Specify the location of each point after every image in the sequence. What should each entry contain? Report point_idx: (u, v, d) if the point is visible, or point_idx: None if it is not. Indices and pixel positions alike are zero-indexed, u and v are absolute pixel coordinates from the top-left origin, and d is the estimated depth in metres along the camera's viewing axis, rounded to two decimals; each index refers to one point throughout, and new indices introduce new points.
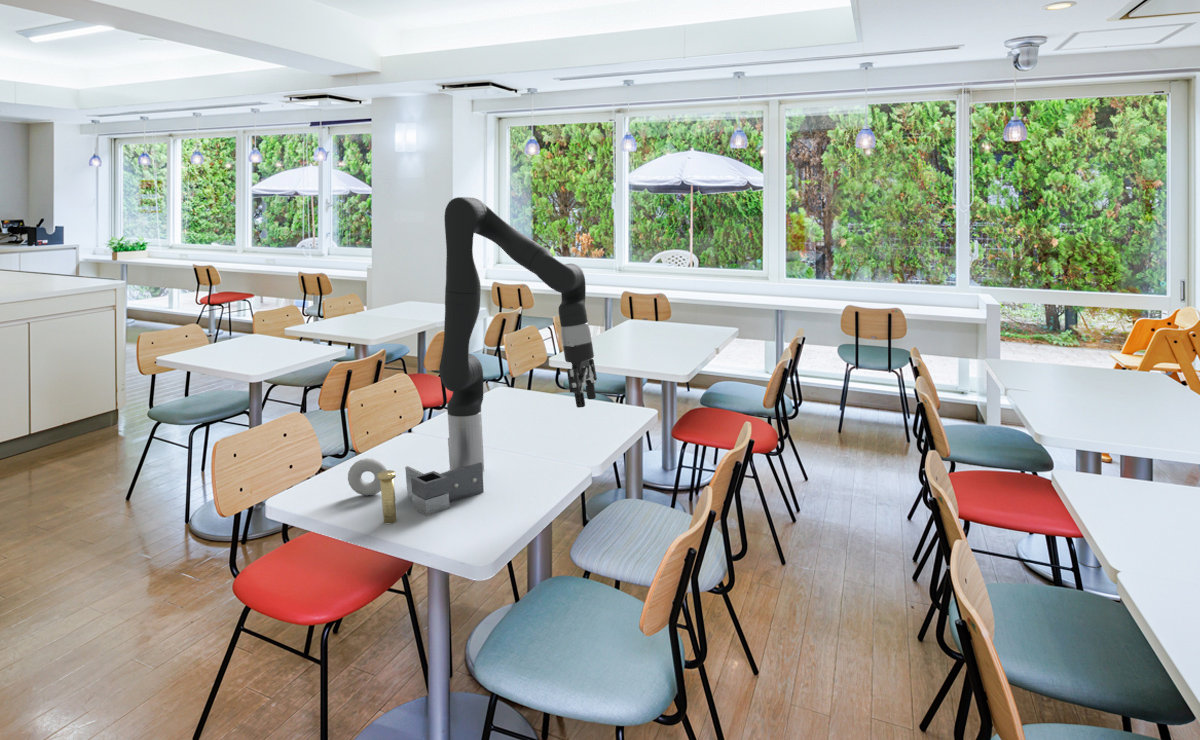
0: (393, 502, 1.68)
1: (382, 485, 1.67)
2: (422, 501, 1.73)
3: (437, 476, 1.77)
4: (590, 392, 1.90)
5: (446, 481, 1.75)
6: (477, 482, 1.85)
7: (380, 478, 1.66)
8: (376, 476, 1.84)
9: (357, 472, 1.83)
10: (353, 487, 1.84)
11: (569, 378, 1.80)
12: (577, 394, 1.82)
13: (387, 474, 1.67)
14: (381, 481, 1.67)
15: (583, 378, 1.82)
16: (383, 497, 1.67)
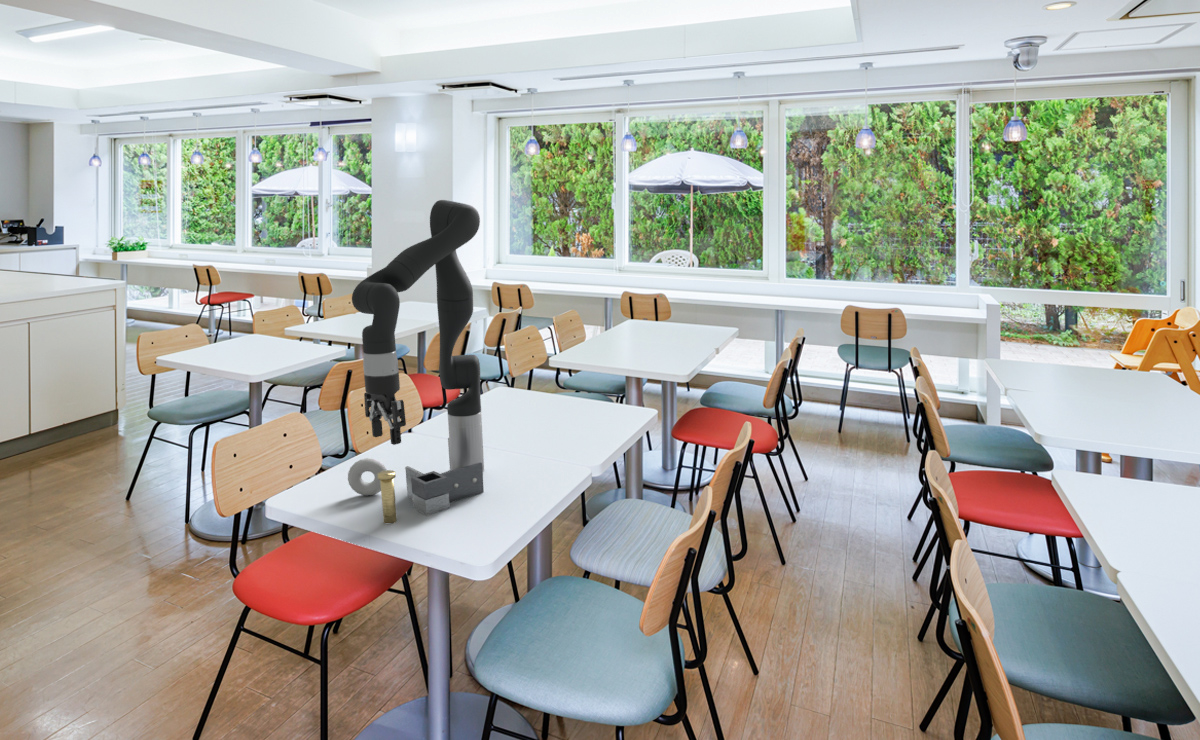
0: (393, 502, 1.68)
1: (382, 485, 1.67)
2: (422, 501, 1.73)
3: (437, 476, 1.77)
4: None
5: (446, 481, 1.75)
6: (477, 482, 1.85)
7: (380, 478, 1.66)
8: (376, 476, 1.84)
9: (357, 472, 1.83)
10: (353, 487, 1.84)
11: None
12: None
13: (387, 474, 1.67)
14: (381, 481, 1.67)
15: None
16: (383, 497, 1.67)
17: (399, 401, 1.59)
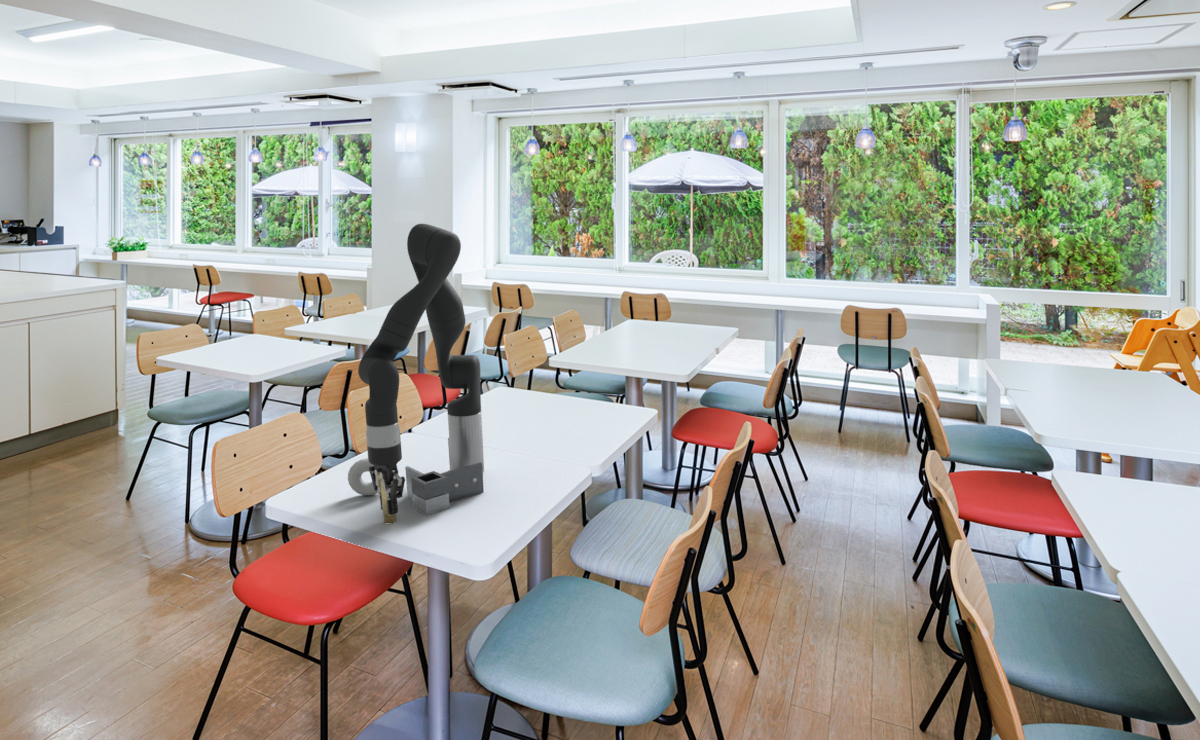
0: None
1: (382, 486, 1.67)
2: (422, 501, 1.73)
3: (437, 476, 1.77)
4: None
5: (446, 481, 1.75)
6: (477, 482, 1.85)
7: (380, 478, 1.66)
8: None
9: (357, 472, 1.83)
10: (353, 487, 1.84)
11: None
12: None
13: None
14: (381, 481, 1.67)
15: None
16: (383, 497, 1.67)
17: (401, 479, 1.63)
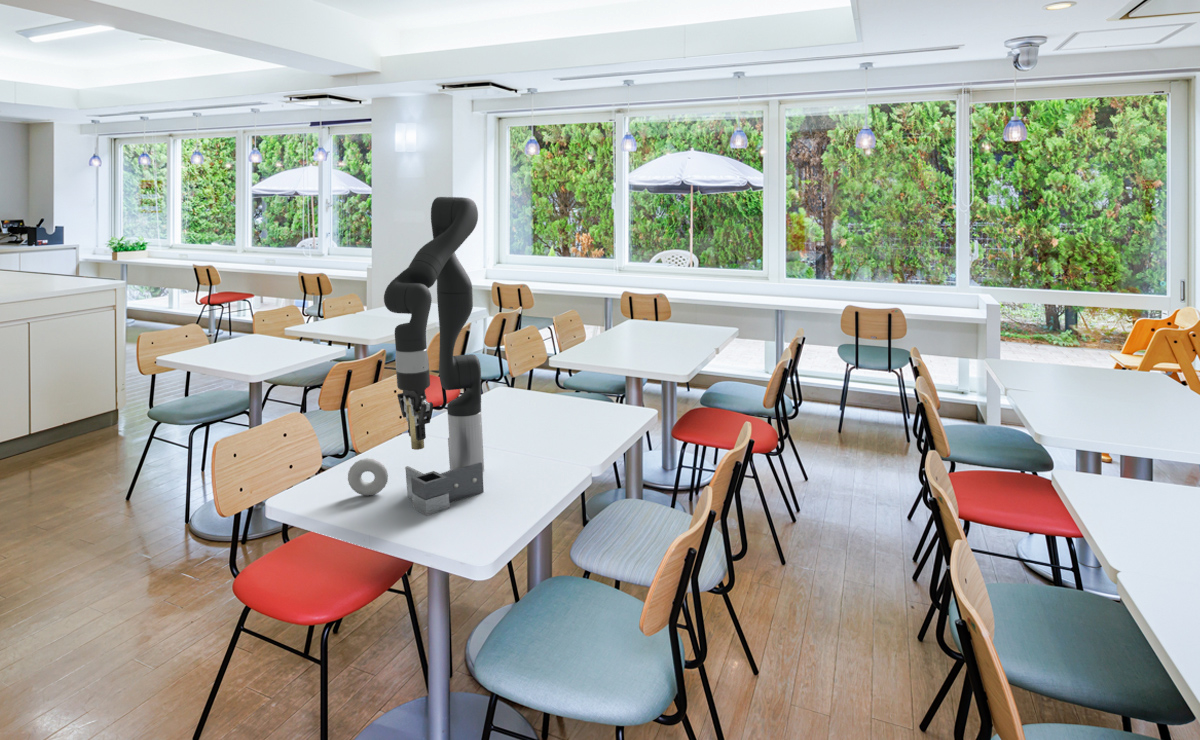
0: None
1: (410, 411, 1.70)
2: (422, 501, 1.73)
3: (437, 476, 1.77)
4: None
5: (446, 481, 1.75)
6: (477, 482, 1.85)
7: (408, 404, 1.69)
8: (376, 476, 1.84)
9: (357, 472, 1.83)
10: (353, 487, 1.84)
11: None
12: None
13: None
14: (409, 407, 1.70)
15: None
16: (411, 423, 1.70)
17: (429, 404, 1.66)
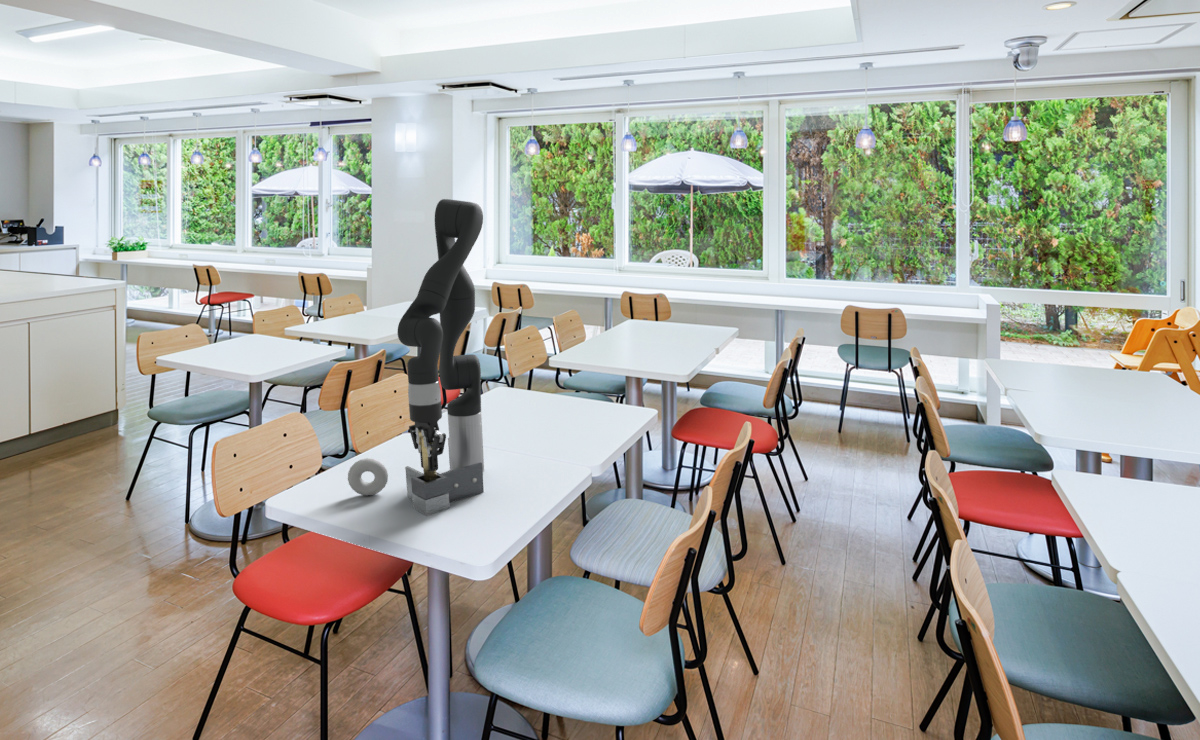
0: None
1: (423, 443, 1.72)
2: (422, 501, 1.73)
3: (437, 476, 1.77)
4: None
5: (446, 481, 1.75)
6: (477, 482, 1.85)
7: (421, 435, 1.71)
8: (376, 476, 1.84)
9: (357, 472, 1.83)
10: (353, 487, 1.84)
11: None
12: None
13: None
14: (422, 439, 1.72)
15: None
16: (424, 454, 1.73)
17: (442, 436, 1.69)
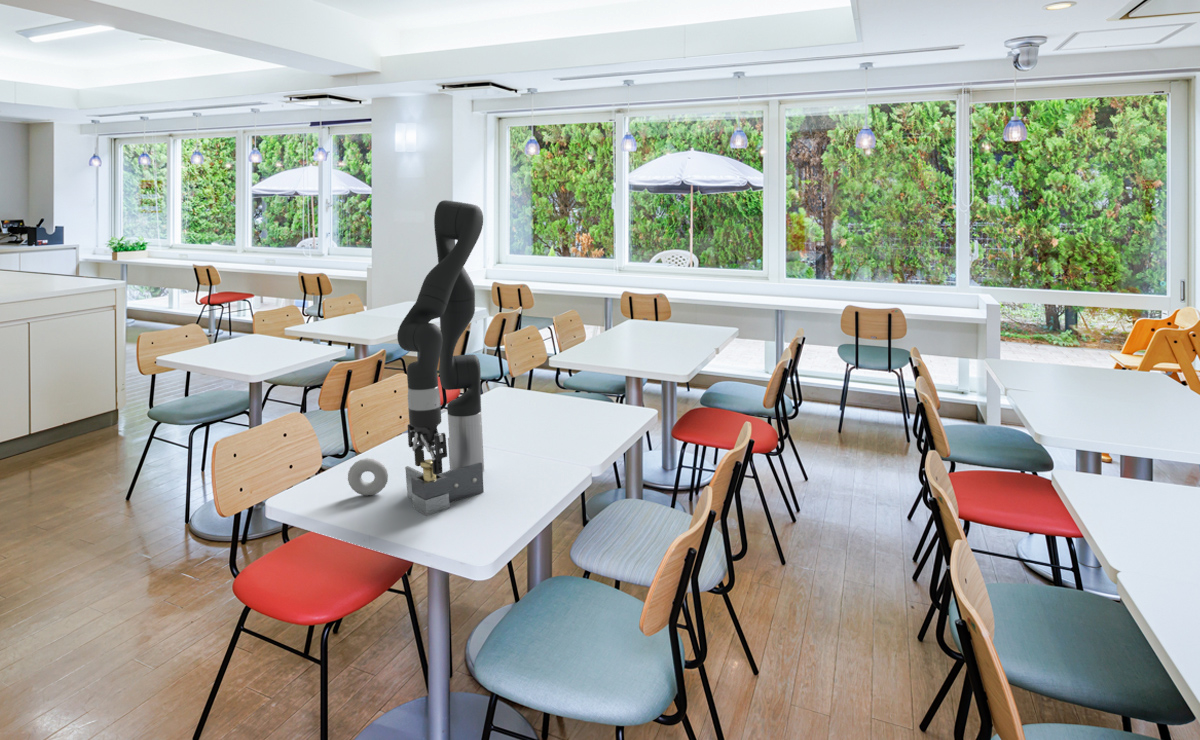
0: None
1: (425, 474, 1.74)
2: (422, 501, 1.73)
3: (437, 476, 1.77)
4: None
5: (446, 481, 1.75)
6: (477, 482, 1.85)
7: (423, 466, 1.73)
8: (376, 476, 1.84)
9: (357, 472, 1.83)
10: (353, 487, 1.84)
11: None
12: None
13: (430, 462, 1.74)
14: (424, 469, 1.74)
15: None
16: None
17: (441, 434, 1.69)
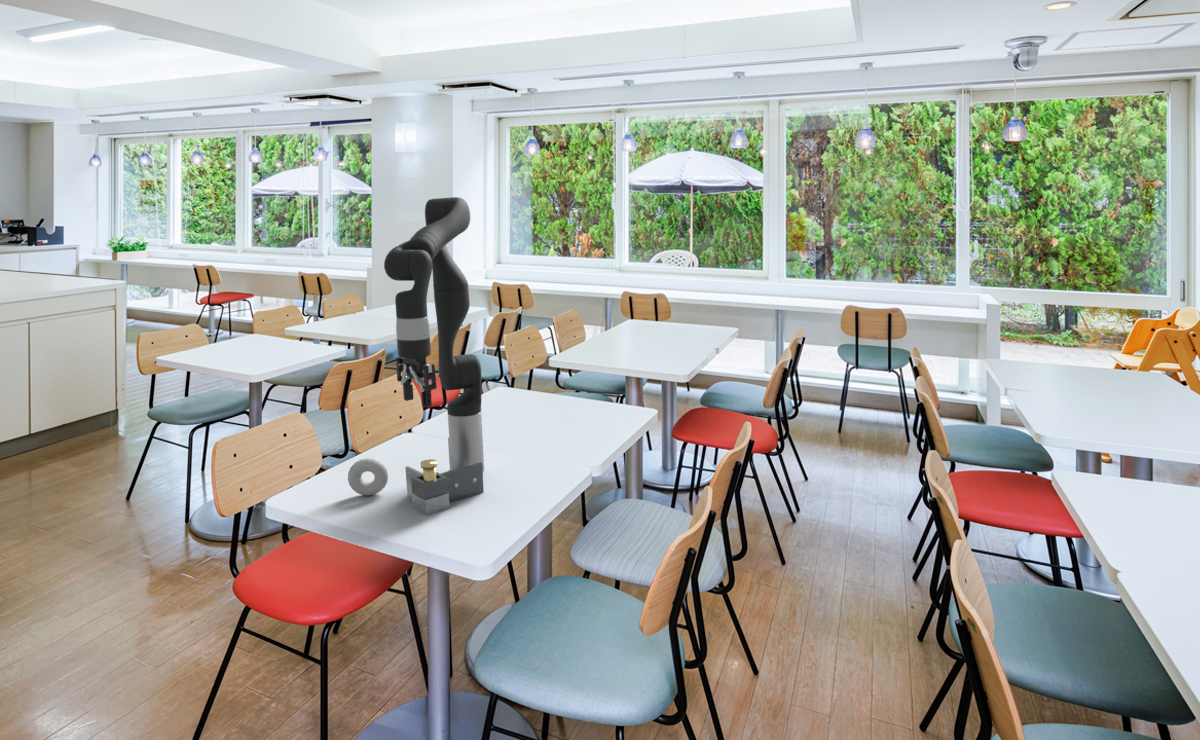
0: None
1: (425, 474, 1.74)
2: (422, 501, 1.73)
3: (437, 476, 1.77)
4: None
5: (446, 481, 1.75)
6: (477, 482, 1.85)
7: (423, 467, 1.73)
8: (376, 476, 1.84)
9: (357, 472, 1.83)
10: (353, 487, 1.84)
11: None
12: None
13: (429, 462, 1.74)
14: (424, 470, 1.74)
15: None
16: None
17: (430, 365, 1.65)
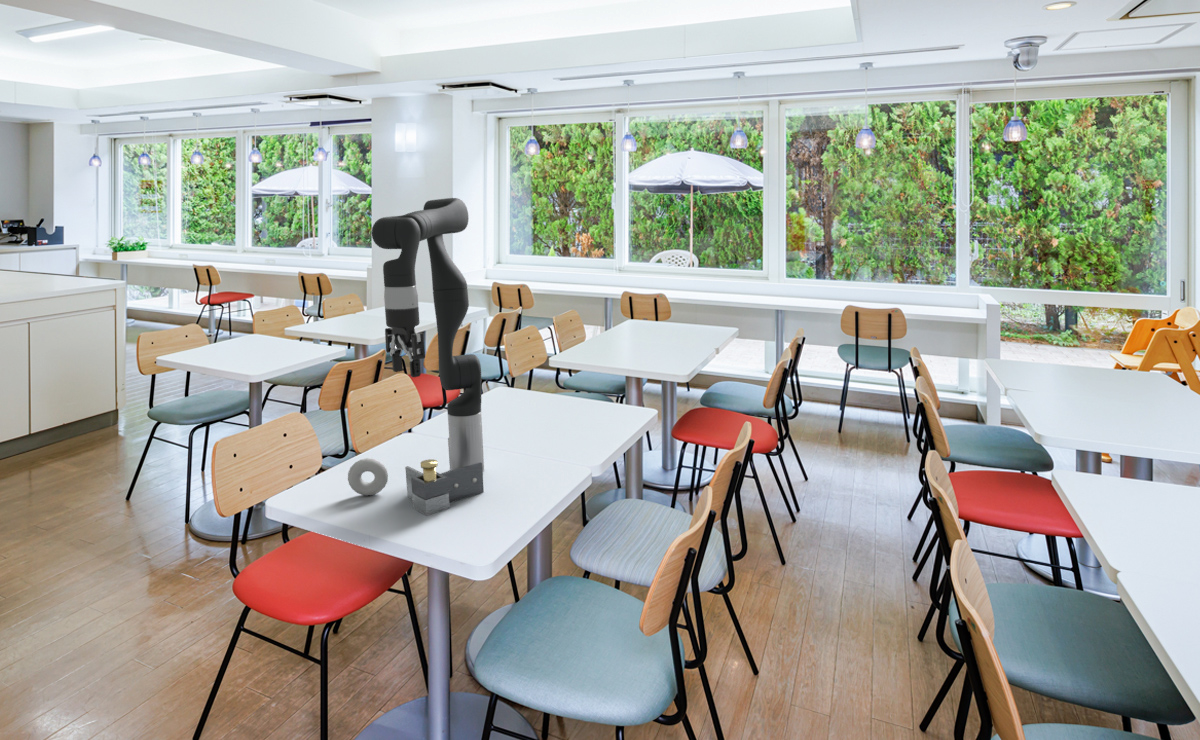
0: None
1: (425, 474, 1.74)
2: (422, 501, 1.73)
3: (437, 476, 1.77)
4: None
5: (446, 481, 1.75)
6: (477, 482, 1.85)
7: (423, 467, 1.73)
8: (376, 476, 1.84)
9: (357, 472, 1.83)
10: (353, 487, 1.84)
11: None
12: None
13: (429, 463, 1.74)
14: (424, 470, 1.74)
15: None
16: None
17: (419, 334, 1.63)
